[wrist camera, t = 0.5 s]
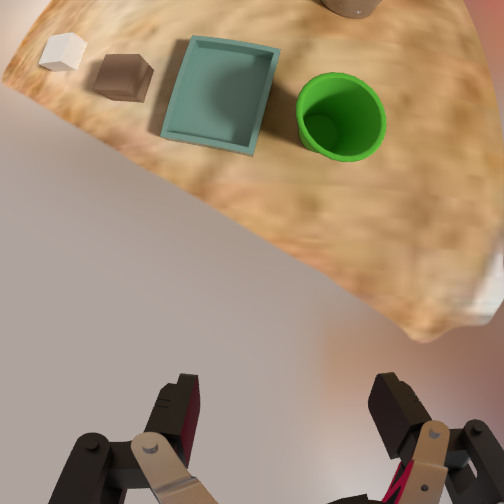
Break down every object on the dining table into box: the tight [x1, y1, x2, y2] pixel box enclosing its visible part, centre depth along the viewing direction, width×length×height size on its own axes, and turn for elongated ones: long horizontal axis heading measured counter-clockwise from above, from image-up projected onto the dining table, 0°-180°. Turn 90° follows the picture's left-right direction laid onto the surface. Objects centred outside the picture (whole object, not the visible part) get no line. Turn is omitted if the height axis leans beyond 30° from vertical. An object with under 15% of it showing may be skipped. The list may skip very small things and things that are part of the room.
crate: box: [160, 35, 281, 157], centre depth 31 cm, size 14×11×3 cm
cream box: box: [39, 32, 88, 72], centre depth 28 cm, size 5×5×5 cm
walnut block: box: [93, 54, 154, 103], centre depth 29 cm, size 5×5×6 cm
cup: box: [296, 72, 386, 162], centre depth 29 cm, size 9×9×11 cm
